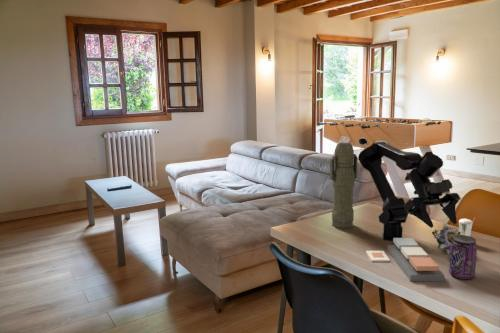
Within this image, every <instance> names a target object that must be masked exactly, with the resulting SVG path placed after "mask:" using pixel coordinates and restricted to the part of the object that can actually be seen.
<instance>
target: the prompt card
mask: <svg viewBox="0 0 500 333" xmlns="http://www.w3.org/2000/svg"><path fill="white" fill-rule="evenodd" d="M365 253H366V255H367V256H368V258H369V260H370V261H371V262H374V263H378V262H380V263H381V262H382V263H383V262H391V260H390V258H389V256H388V255H387V254H386V252H385V251H384V250H366V251H365Z"/></svg>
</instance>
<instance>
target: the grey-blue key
mask: <svg viewBox="0 0 500 333" xmlns="http://www.w3.org/2000/svg"><path fill="white" fill-rule="evenodd" d="M392 242H393V243H394V245H396V246H397V247H398V248H399V249H401V247H419V243H418V242H416V241H415V239H413V238H412V237H402V238H393V240H392Z"/></svg>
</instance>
